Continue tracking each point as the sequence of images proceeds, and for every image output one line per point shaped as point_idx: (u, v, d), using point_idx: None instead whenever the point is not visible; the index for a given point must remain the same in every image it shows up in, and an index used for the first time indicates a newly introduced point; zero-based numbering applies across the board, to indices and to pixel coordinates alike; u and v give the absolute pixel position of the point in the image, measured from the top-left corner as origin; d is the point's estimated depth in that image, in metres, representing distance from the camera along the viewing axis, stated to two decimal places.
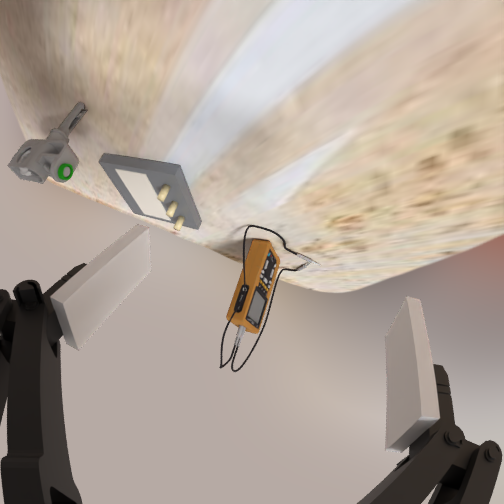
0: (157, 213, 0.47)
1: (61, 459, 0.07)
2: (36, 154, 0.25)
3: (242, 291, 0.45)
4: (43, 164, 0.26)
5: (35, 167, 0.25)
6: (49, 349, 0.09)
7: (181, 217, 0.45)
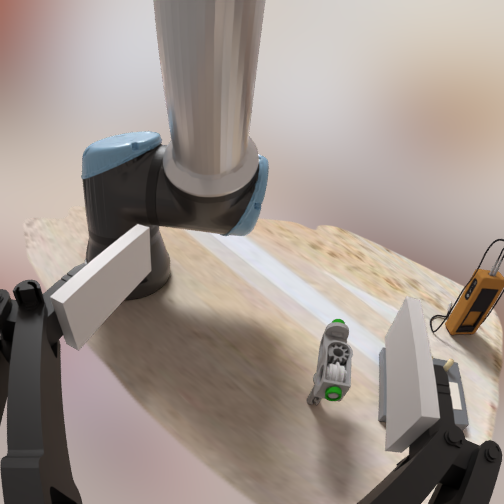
0: (452, 392, 0.35)
1: (61, 459, 0.07)
2: (321, 355, 0.32)
3: (469, 295, 0.44)
4: None
5: (328, 343, 0.32)
6: (49, 349, 0.09)
7: (443, 367, 0.39)
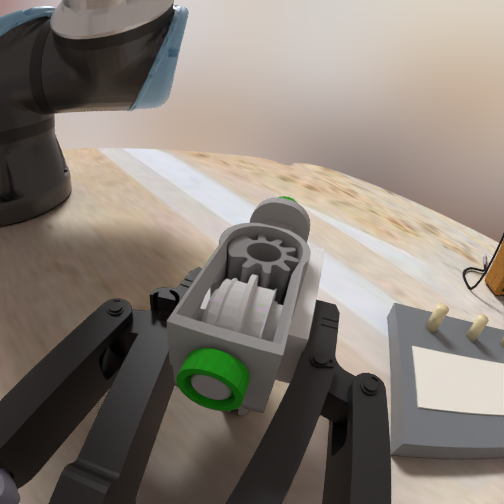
0: None
1: (134, 479, 0.07)
2: None
3: None
4: None
5: (240, 232, 0.12)
6: (170, 366, 0.10)
7: (501, 340, 0.19)
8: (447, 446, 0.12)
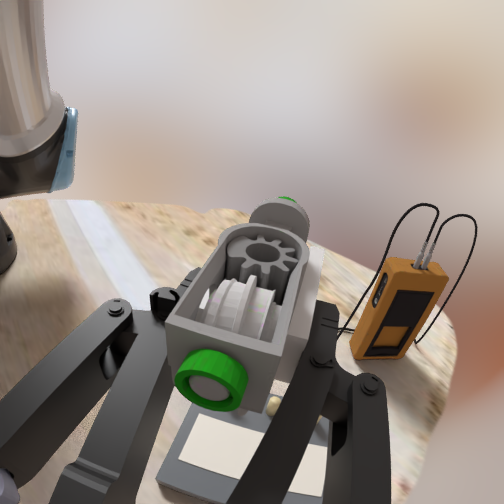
0: (312, 464, 0.22)
1: (134, 479, 0.07)
2: None
3: (377, 300, 0.31)
4: None
5: (240, 233, 0.11)
6: (170, 366, 0.10)
7: None
8: (190, 492, 0.19)
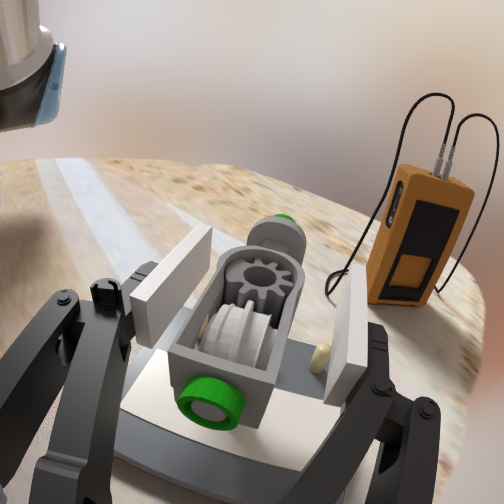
0: (317, 427, 0.16)
1: (103, 467, 0.07)
2: None
3: (392, 217, 0.25)
4: None
5: (237, 255, 0.12)
6: (118, 354, 0.10)
7: (310, 362, 0.20)
8: (129, 456, 0.13)
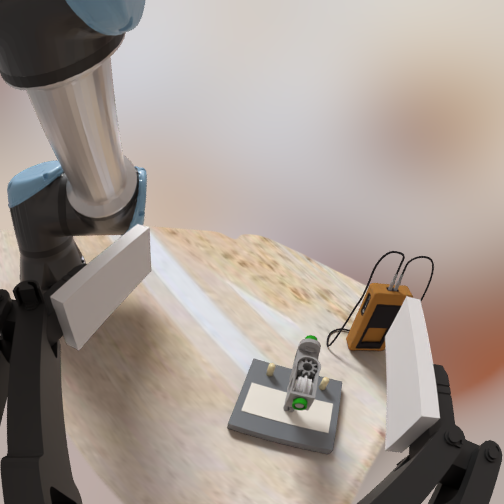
0: (322, 413, 0.39)
1: (61, 459, 0.07)
2: (293, 369, 0.35)
3: (364, 310, 0.48)
4: (302, 360, 0.36)
5: (299, 358, 0.35)
6: (49, 349, 0.09)
7: (319, 385, 0.43)
8: (250, 430, 0.36)
